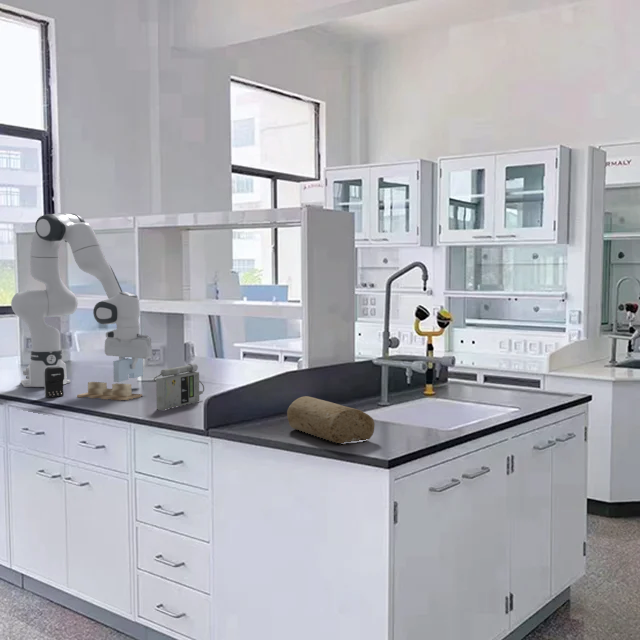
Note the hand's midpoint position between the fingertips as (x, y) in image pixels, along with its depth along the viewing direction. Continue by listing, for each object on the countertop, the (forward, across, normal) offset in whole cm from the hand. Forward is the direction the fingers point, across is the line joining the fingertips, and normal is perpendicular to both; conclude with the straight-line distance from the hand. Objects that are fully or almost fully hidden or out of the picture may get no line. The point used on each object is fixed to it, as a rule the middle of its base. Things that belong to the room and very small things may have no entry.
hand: (128, 368), depth 294 cm
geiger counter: (+7, -37, +21) cm, 43 cm away
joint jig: (+8, -3, +16) cm, 19 cm away
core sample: (+5, -102, +49) cm, 114 cm away
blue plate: (+4, 0, 0) cm, 4 cm away
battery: (+9, +16, +23) cm, 30 cm away
